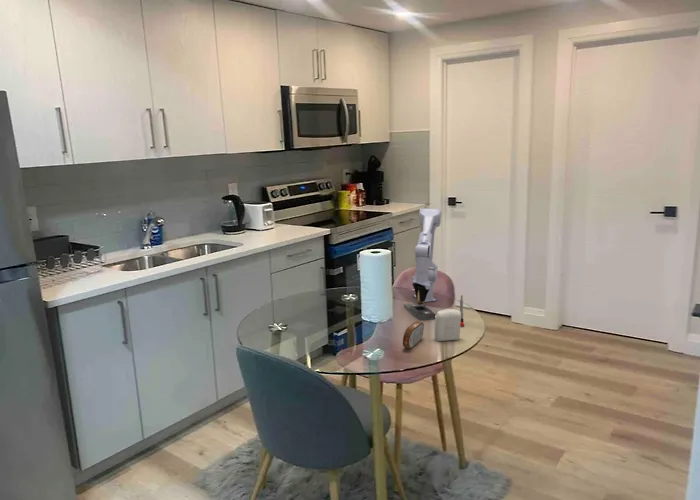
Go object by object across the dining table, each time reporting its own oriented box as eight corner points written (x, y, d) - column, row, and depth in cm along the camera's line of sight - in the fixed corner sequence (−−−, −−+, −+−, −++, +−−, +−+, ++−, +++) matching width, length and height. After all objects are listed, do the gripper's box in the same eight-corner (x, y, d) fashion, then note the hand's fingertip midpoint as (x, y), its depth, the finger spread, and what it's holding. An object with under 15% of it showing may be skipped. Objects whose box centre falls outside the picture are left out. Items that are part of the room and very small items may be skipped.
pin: (416, 302, 240) (416, 290, 238) (422, 302, 241) (422, 289, 239) (418, 304, 237) (419, 292, 235) (425, 304, 238) (425, 291, 236)
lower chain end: (403, 306, 248) (403, 303, 248) (417, 305, 250) (417, 301, 250) (415, 316, 236) (416, 312, 235) (430, 315, 238) (430, 311, 238)
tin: (417, 337, 214) (418, 317, 212) (424, 338, 213) (425, 318, 211) (401, 350, 202) (402, 329, 200) (409, 352, 200) (410, 331, 198)
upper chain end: (409, 311, 242) (410, 305, 241) (423, 310, 244) (424, 304, 243) (420, 320, 231) (420, 314, 231) (435, 318, 234) (435, 312, 233)
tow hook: (442, 328, 225) (464, 327, 224) (442, 298, 222) (465, 298, 221) (440, 320, 233) (461, 320, 232) (440, 292, 230) (462, 292, 229)
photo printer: (456, 335, 216) (458, 307, 213) (461, 340, 212) (463, 310, 209) (432, 337, 213) (434, 308, 210) (436, 342, 209) (438, 312, 206)
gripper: (406, 267, 241) (405, 295, 244) (420, 276, 227) (419, 306, 230) (421, 266, 243) (419, 294, 246) (435, 274, 229) (434, 304, 233)
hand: (420, 300), depth 238 cm, fingers closed on pin, 3 cm apart
